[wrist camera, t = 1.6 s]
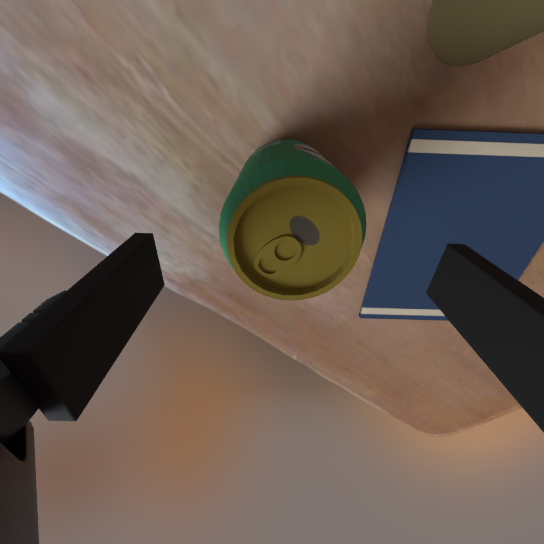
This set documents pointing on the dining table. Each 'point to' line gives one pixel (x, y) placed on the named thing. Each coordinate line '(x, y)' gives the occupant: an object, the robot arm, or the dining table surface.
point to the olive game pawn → (481, 27)
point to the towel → (456, 214)
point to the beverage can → (292, 222)
